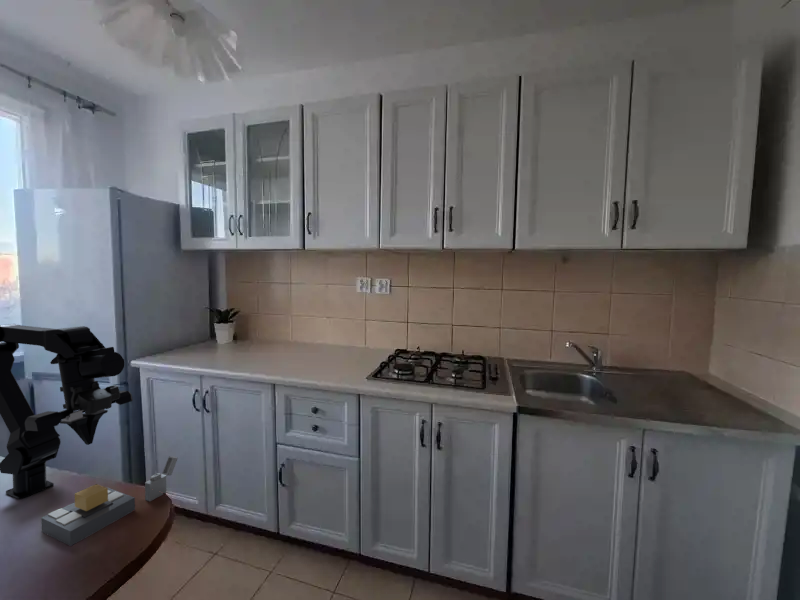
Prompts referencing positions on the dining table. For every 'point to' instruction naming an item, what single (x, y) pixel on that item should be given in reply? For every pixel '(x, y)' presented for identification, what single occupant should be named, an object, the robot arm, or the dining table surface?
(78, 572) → the dining table surface
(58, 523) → the keypad
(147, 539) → the dining table surface
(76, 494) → the key
